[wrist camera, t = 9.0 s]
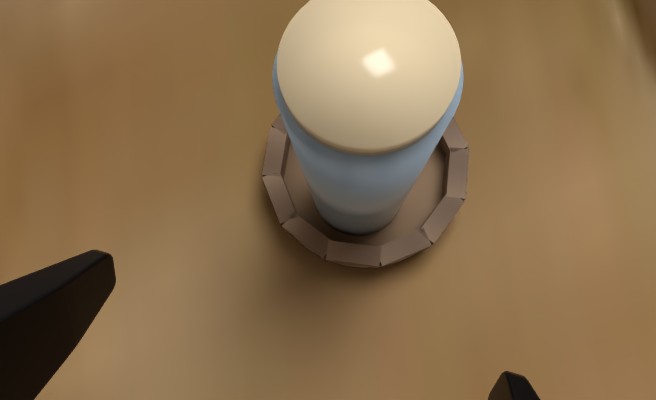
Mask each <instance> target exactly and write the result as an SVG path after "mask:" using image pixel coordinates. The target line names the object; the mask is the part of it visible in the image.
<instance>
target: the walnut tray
mask: <svg viewBox="0 0 656 400" xmlns="http://www.w3.org/2000/svg"><path fill="white" fill-rule="evenodd" d="M271 125H272V127H273V128H272V127H270V131H269V137H268V142H267V148H266V154H265V159H264V165H263V171H262V176H263V177H262V179H263V181H264V184H265V186H266V189H267V191H268V194H269V197H270V199H271V202H272V204H273V207H274V210H275V212H276V215H277V217H278V220H279V222H280V224H281V225H282V227H283V228H284V229H285V230H286V231H287V232H289V233H290V234H291V235H293V236H294V237H295V238H296V239H297V240H298V241H299V242H300V243H301V244H302V245H304V246H305V247H306V248H307V249H309V250H310V251H312V252H313V253H315V254H316V255H318V256H320V257H321V258H322V259H323V260H325V259H326V260H327V261H328V262H334V263H337V264H340V265H345V266H350V267H361V268H369V267H373V268H378V267H384V266H386V265H390V264H393V263H396V262H399V261H402V260H404V259H406V258H408V257H410V256H412V255H414V254H416V253H417V252H420V251H422V250H424V249H427V248H428V247H430V246H432V245H433V244H434V243H435V242H436V240H437V239H438V238H439V236H440V235H441V233H442V232H443V231H444V229H445V228H446V227H447V225H448V224H449V222H450V221H451V220H452V218H453V217H454V216H455V214H456V213H457V211H458V210H459V209H460V207H461V206H462V205H463V203H464V200H465V199H466V187H467V172H468V158H469V149H467V148H468V144H467V142H466V140H465V138H464V136H463V134H462V133H461V131H460V129H459V127H458V125H457V123H456V121H455V119H454V117H452V119H451V121H450V123H449V124H448V126H447V128H446V130H445V131H444V133H443V135H442V137H441V138H440V140H439V142H438V144H437V145H436V147H435V149H434V151H433V152H432V154H431V156H430V158H429V159H428V161H427V163H426V165H425V166H424V168H423V170H422V172H421V173H420V175H419V177H418V179H417V180H416V182H415V184H414V186H413V187H412V189H411V191H410V192H409V194H408V196H407V198H406V199H405V201H404V203H403V205H402V206H401V208H400V210H399V212H398V213H397V215H396V217H395V218H394V219H393V221H392V222H391V223H390V224H389V225H388V226H386V227H385V228H384V229H382V230H380V231H378V232H376V233H373V234H370V235H366V236H351V235H346V234H343V233H340V232H338V231H336V230H334V229H333V228H331V227H330V226H329V225H327V224H326V223H325V222H324V221H323V219H322V218H321V217H320V215H319V213H318V211H317V209H316V207H315V204H314V202H313V199H312V196H311V194H310V191H309V188H308V186H307V183H306V180H305V178H304V175H303V172H302V170H301V167H300V164H299V162H298V159H297V156H296V154H295V151H294V148H293V146H292V143H291V140H290V138H289V135H288V132H287V130H286V127H285V124H284V122H283V119H282V116H281V114H280V115H279V116H278V117H277V118H276V120H275V121H274V122H273V123H272V124H271Z"/></svg>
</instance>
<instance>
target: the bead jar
mask: <svg viewBox="0 0 656 400" xmlns="http://www.w3.org/2000/svg"><path fill="white" fill-rule="evenodd" d="M462 88H463V66H462V61H461V54H460V49H459V44H458V41H457V38H456V36H455V33H454V31H453V29H452V27H451V25H450V23H449V22H448V21H447V19H446V18H445V16H444V15H443V14H442V13H441V12H440V11H439V10H438V9H437V7H436V6H434V5H433V4H432V3H431V2H430V1H428V0H311V1H309V2H308V3H307V4H306V5H305V6H303V7H302V8H301V9H300V10H299V11H298V13H297V14H296V15H295V16H294V17H293V19H292V20H291V22H290V23H289V25H288V26H287V28H286V30H285V32H284V34H283V36H282V39H281V42H280V45H279V49H278V52H277V54H276V57H275V62H274V67H273V90H274V95H275V99H276V103H277V106H278V108H279V111H280V114H281V116H282V119H283V122H284V124H285V127H286V130H287V132H288V135H289V138H290V140H291V143H292V146H293V148H294V151H295V154H296V156H297V159H298V162H299V164H300V167H301V170H302V172H303V175H304V178H305V180H306V183H307V186H308V188H309V191H310V194H311V196H312V199H313V202H314V204H315V207H316V209H317V211H318V213H319V215H320V217H321V218H322V219H323V221H324V222H325V223H326V224H327V225H329V226H330V227H331V228H333V229H334V230H336V231H338V232H340V233H343V234H346V235H351V236H366V235H370V234H373V233H376V232H378V231H380V230H382V229H384V228H385V227H386V226H388V225H389V224H390V223H391V222H392V221H393V219H394V218H395V217H396V215H397V213H398V212H399V210H400V208H401V206H402V205H403V203H404V201H405V199H406V198H407V196H408V194H409V192H410V191H411V189H412V187H413V186H414V184H415V182H416V180H417V179H418V177H419V175H420V173H421V172H422V170H423V168H424V166H425V165H426V163H427V161H428V159H429V158H430V156H431V154H432V152H433V151H434V149H435V147H436V145H437V144H438V142H439V140H440V138H441V137H442V135H443V133H444V131H445V130H446V128H447V126H448V124H449V123H450V121H451V119H452V117H453V116H454V114H455V112H456V109H457V107H458V104H459V102H460V98H461V94H462Z"/></svg>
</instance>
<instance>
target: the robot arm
mask: <svg viewBox="0 0 656 400" xmlns="http://www.w3.org/2000/svg"><path fill="white" fill-rule="evenodd" d="M115 283H116V276H115V269H114V262H113V257H112V256H111V254H109V253H106V252H102V251H99V250H91V251H88V252H85V253H83V254H80V255H77V256H75V257H72V258H70V259H67V260H64V261H62V262H59V263H57V264H54V265H51V266H49V267H46V268H44V269H41V270H38V271H36V272H33V273H31V274H28V275H25V276H23V277H20V278H18V279H15V280H12V281H10V282H7V283H5V284H2V285H0V400H34V399H35V398H36V396H37V395H38V394H39V393H40V391H41V390H42V389H43V388H44V386H45V385H46V384H47V383H48V381H49V380H50V379H51V378H52V376H53V375H54V374H55V373H56V371H57V370H58V369H59V368H60V366H61V365H62V364H63V363H64V361H65V360H66V359H67V358H68V356H69V355H70V354H71V352H72V351H73V350H74V348H75V347H76V346H77V344H78V343H79V341H80V340H81V339H82V337H83V336H84V334H85V332H86V331H87V329H88V328H89V326H90V325H91V323H92V322H93V320H94V319H95V317H96V315H97V314H98V312H99V311H100V309H101V308H102V306H103V305H104V303H105V301H106V300H107V298H108V297H109V295H110V294H111V292H112V290H113V289H114V286H115ZM488 400H540V398H539V397H538V395H537V394H536V392H535V391H534V389H533V388H532V386H531V384H530V383H529V381H528V380H527V379H526V378H525V377H524V376H522V375H519V374H516V373H513V372H509V371H504V372H503V373H502V374H501V375H500V377H499V379H498V380H497V382H496V384H495V385H494V387H493V389H492V390H491V392H490V394H489V397H488Z"/></svg>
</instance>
